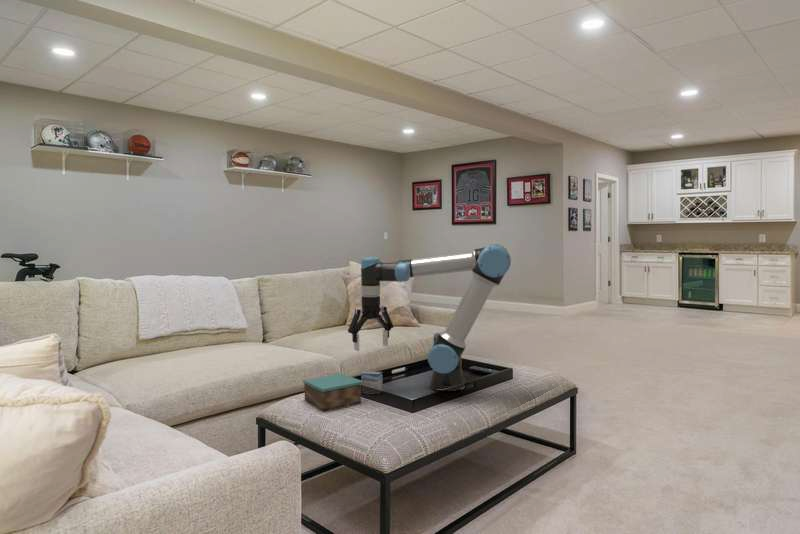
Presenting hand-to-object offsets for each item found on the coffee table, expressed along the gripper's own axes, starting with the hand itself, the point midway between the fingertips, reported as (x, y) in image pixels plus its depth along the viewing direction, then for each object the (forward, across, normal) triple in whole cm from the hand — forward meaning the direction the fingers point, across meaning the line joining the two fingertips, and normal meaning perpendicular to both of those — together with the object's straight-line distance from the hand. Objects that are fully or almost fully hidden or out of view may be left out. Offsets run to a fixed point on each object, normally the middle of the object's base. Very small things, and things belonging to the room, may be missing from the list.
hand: (371, 348), depth 212 cm
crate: (+19, +18, 0) cm, 26 cm away
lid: (+11, +18, +1) cm, 21 cm away
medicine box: (+19, 0, 0) cm, 19 cm away
